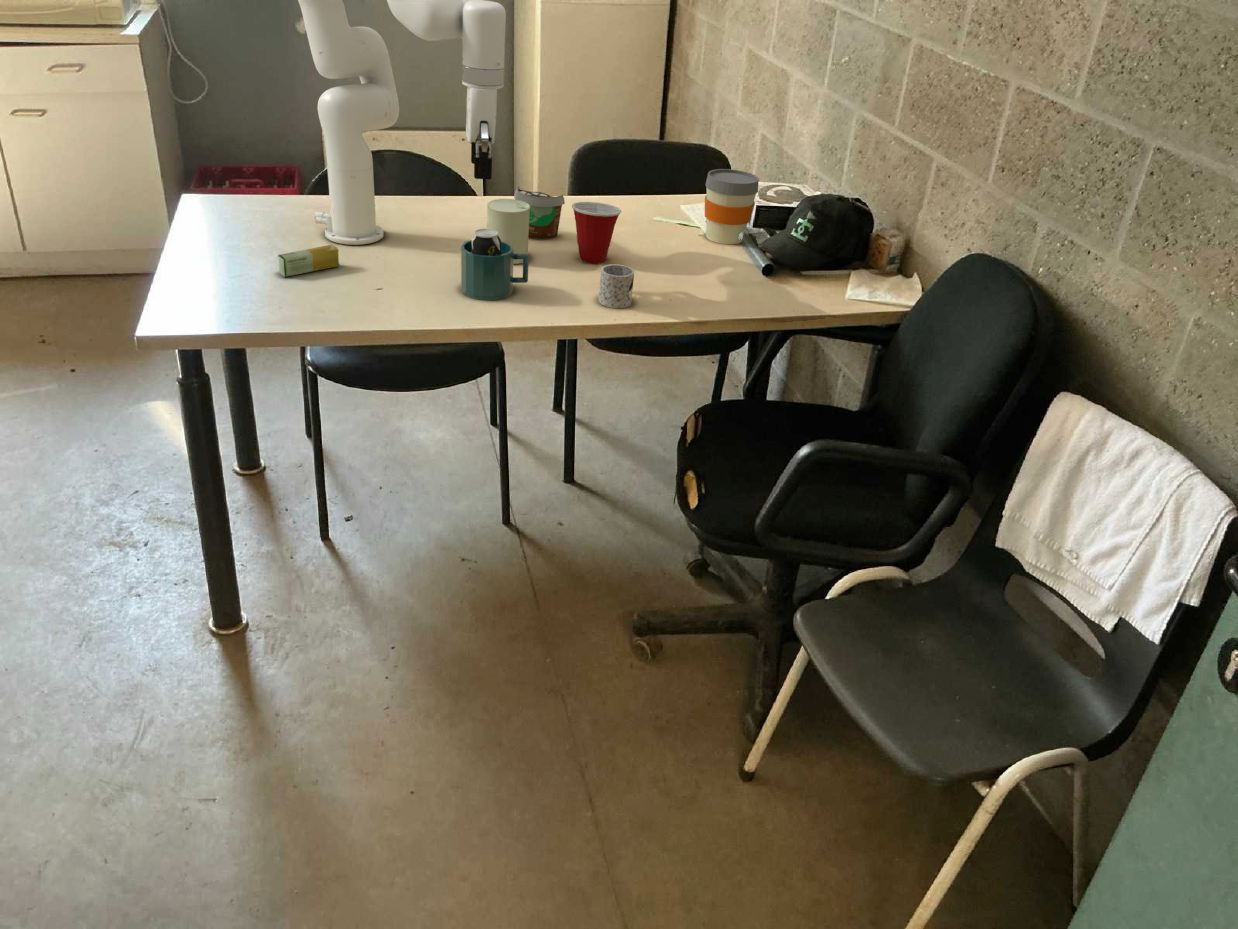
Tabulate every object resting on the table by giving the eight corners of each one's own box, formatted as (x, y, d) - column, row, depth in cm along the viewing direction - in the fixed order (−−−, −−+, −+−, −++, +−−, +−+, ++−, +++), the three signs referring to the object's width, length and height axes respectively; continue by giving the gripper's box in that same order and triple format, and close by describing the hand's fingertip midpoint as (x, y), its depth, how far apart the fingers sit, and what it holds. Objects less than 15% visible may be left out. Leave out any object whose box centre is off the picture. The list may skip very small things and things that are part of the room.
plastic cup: (625, 257, 218) (629, 204, 212) (604, 271, 209) (608, 217, 203) (582, 247, 221) (585, 195, 215) (560, 260, 213) (562, 206, 207)
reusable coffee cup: (725, 250, 228) (734, 186, 220) (688, 234, 236) (695, 172, 228) (760, 241, 235) (770, 179, 227) (723, 226, 243) (732, 166, 235)
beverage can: (476, 297, 190) (477, 238, 184) (467, 286, 194) (467, 228, 188) (504, 294, 192) (505, 235, 186) (494, 283, 197) (495, 226, 190)
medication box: (284, 278, 192) (282, 259, 189) (278, 272, 193) (276, 254, 191) (339, 266, 199) (339, 248, 196) (333, 260, 200) (332, 242, 198)
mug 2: (635, 307, 194) (638, 276, 190) (603, 308, 192) (606, 276, 188) (621, 288, 202) (623, 258, 198) (590, 289, 200) (592, 258, 196)
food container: (503, 233, 225) (504, 191, 219) (515, 226, 230) (517, 184, 224) (551, 244, 221) (553, 201, 216) (563, 237, 226) (565, 194, 221)
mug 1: (462, 300, 190) (462, 256, 185) (459, 280, 198) (459, 238, 193) (530, 300, 192) (531, 257, 188) (524, 281, 201) (526, 239, 196)
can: (521, 267, 208) (523, 212, 201) (480, 260, 209) (481, 205, 202) (533, 253, 215) (535, 199, 209) (493, 247, 216) (494, 194, 210)
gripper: (459, 65, 181) (459, 157, 191) (464, 85, 167) (463, 183, 176) (499, 67, 183) (497, 158, 192) (508, 88, 169) (504, 185, 178)
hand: (481, 170), depth 184 cm, fingers open, 9 cm apart
